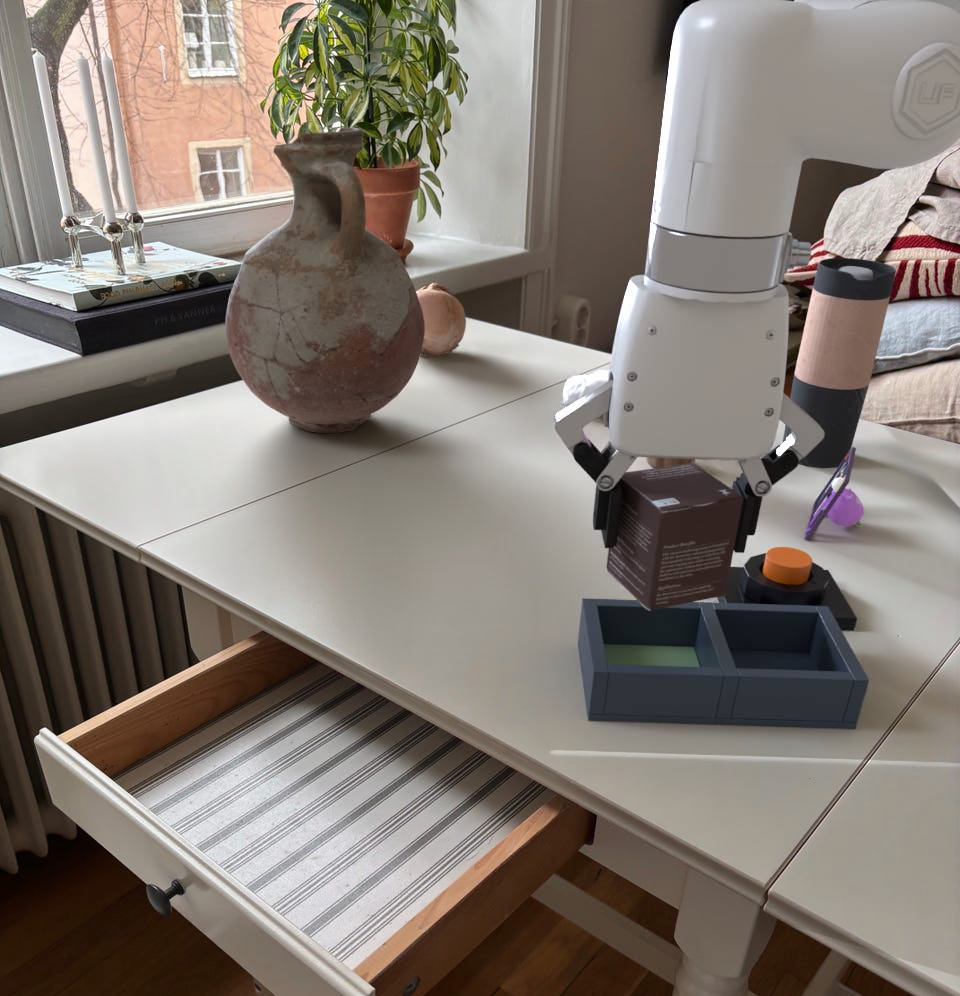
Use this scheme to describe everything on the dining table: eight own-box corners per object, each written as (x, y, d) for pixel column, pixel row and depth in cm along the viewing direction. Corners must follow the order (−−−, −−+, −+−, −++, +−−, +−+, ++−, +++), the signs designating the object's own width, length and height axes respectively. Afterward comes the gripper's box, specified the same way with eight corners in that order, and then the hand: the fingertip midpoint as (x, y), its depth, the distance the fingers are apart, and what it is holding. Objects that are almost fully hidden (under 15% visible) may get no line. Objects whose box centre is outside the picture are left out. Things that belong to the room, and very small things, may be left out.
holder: (816, 652, 75) (828, 605, 73) (855, 729, 67) (870, 680, 65) (577, 644, 75) (582, 597, 73) (588, 721, 67) (593, 671, 65)
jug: (348, 377, 127) (337, 113, 110) (465, 423, 114) (471, 132, 98) (199, 415, 114) (161, 122, 97) (312, 472, 101) (291, 146, 85)
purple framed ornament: (845, 442, 94) (837, 476, 87) (895, 468, 94) (891, 504, 87) (807, 498, 98) (796, 536, 91) (854, 524, 98) (847, 563, 91)
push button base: (825, 581, 85) (833, 550, 83) (854, 631, 78) (863, 598, 76) (709, 578, 85) (714, 546, 83) (727, 627, 78) (734, 594, 76)
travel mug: (805, 437, 114) (845, 254, 103) (863, 458, 109) (912, 268, 98) (764, 451, 110) (802, 262, 99) (823, 474, 105) (870, 278, 94)
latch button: (801, 566, 81) (805, 547, 81) (813, 587, 78) (818, 568, 77) (757, 564, 81) (761, 545, 80) (768, 586, 78) (772, 566, 77)
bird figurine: (642, 423, 120) (573, 387, 122) (657, 376, 114) (584, 339, 117) (622, 442, 117) (552, 405, 120) (637, 394, 112) (563, 357, 114)
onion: (433, 366, 141) (443, 294, 140) (474, 364, 134) (485, 289, 133) (378, 351, 135) (388, 276, 134) (418, 348, 128) (429, 269, 127)
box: (680, 558, 70) (695, 460, 66) (727, 599, 65) (747, 497, 61) (603, 570, 68) (614, 471, 64) (646, 613, 63) (661, 509, 59)
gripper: (847, 252, 59) (788, 521, 68) (555, 241, 59) (536, 512, 68) (890, 282, 52) (818, 573, 62) (563, 269, 52) (540, 564, 62)
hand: (671, 539), depth 65 cm, fingers closed on box, 7 cm apart
